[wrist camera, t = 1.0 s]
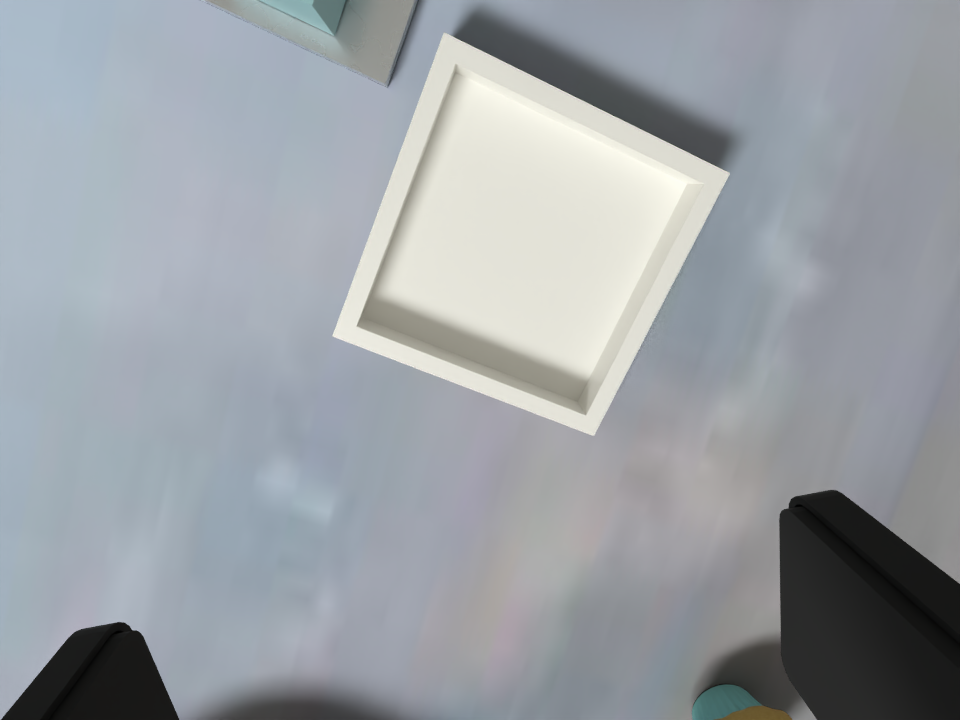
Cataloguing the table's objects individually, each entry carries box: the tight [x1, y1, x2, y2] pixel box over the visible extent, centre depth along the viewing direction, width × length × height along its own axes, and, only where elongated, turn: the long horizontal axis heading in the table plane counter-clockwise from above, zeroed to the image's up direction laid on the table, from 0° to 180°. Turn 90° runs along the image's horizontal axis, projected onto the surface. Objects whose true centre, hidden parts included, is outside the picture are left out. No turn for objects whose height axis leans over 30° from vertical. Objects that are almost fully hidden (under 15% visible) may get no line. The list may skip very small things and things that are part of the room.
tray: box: [333, 33, 730, 436], centre depth 32 cm, size 16×16×3 cm
